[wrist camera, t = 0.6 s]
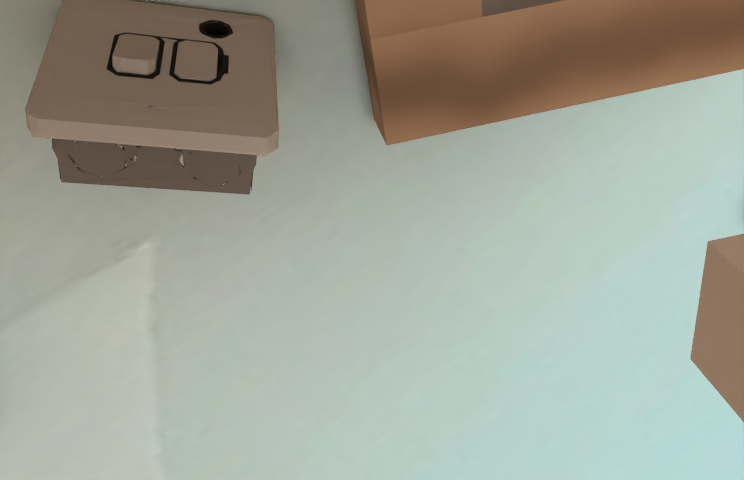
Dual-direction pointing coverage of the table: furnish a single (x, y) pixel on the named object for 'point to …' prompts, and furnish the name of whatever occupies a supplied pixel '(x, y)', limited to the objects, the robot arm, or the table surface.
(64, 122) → the electrical switch
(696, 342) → the robot arm
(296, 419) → the table surface
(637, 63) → the socket base
